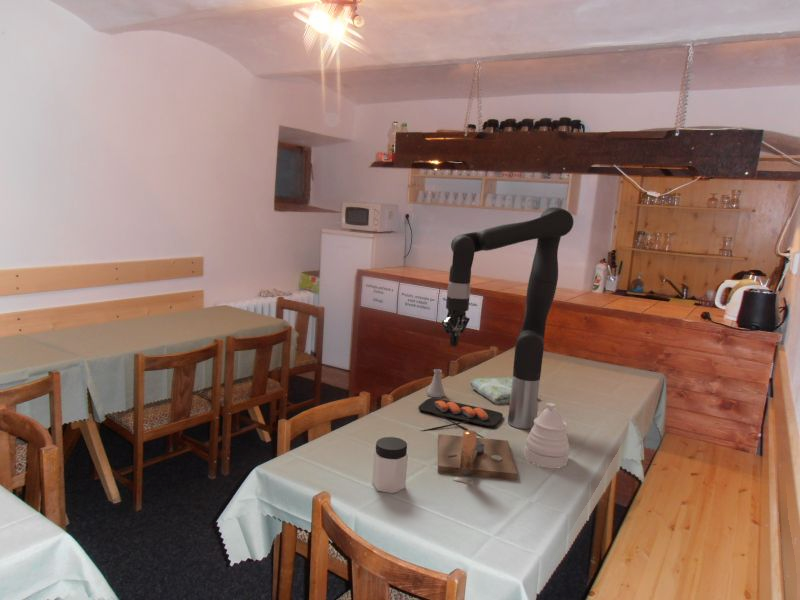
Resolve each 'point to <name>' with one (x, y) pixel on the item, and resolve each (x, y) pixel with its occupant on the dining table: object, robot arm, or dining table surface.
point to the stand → (486, 465)
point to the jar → (390, 464)
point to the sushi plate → (460, 413)
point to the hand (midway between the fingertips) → (453, 346)
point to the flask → (436, 385)
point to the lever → (470, 450)
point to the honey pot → (548, 440)
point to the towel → (494, 388)
